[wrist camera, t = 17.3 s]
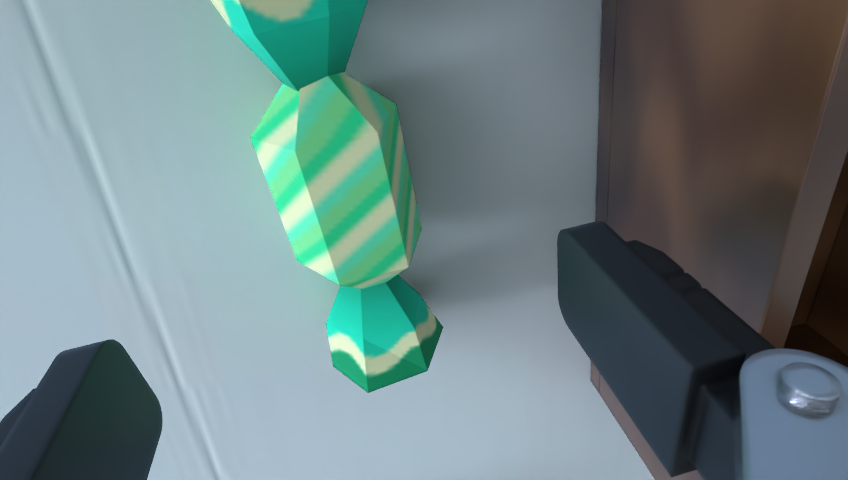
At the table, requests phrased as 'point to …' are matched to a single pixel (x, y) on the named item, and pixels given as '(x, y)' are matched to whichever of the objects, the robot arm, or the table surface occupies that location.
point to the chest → (732, 161)
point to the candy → (340, 183)
